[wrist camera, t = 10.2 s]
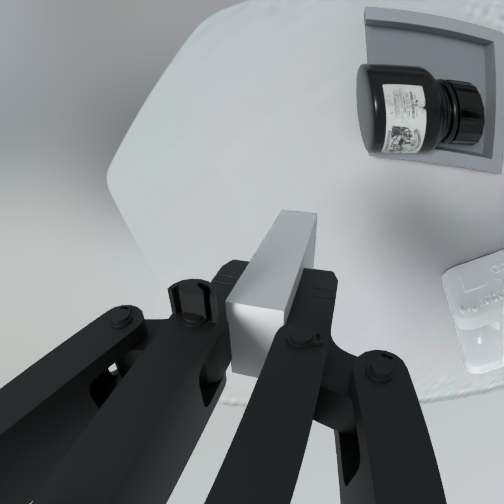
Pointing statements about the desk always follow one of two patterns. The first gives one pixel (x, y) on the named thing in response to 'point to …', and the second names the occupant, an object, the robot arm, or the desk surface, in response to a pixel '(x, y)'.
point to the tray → (446, 73)
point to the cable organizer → (478, 310)
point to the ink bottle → (415, 110)
